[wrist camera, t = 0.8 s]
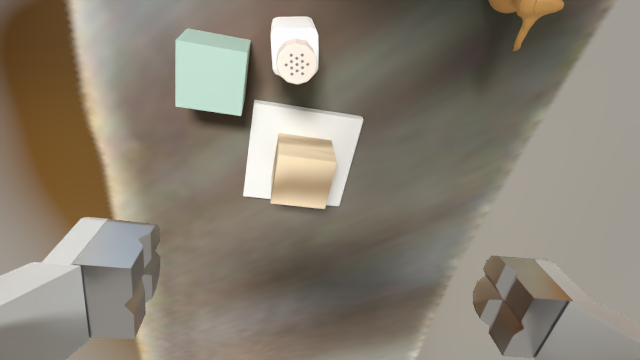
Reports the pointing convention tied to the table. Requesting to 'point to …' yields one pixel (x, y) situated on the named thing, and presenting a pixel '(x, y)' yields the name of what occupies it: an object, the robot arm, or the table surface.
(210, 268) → the table surface
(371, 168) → the table surface
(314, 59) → the pepper shaker
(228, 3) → the table surface
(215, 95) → the sage brick
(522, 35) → the figurine
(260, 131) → the plate
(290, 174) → the maple brick
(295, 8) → the table surface
